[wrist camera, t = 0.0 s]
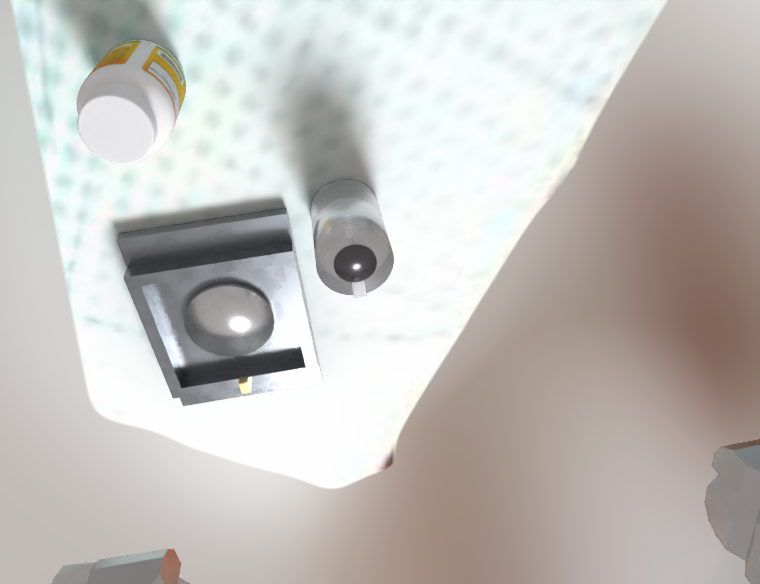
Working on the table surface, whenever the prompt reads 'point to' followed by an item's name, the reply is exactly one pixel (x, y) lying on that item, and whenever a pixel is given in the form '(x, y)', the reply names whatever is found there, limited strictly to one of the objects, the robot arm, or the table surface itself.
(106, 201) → the table surface
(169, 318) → the shaft seat
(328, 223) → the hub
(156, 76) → the supplement bottle
